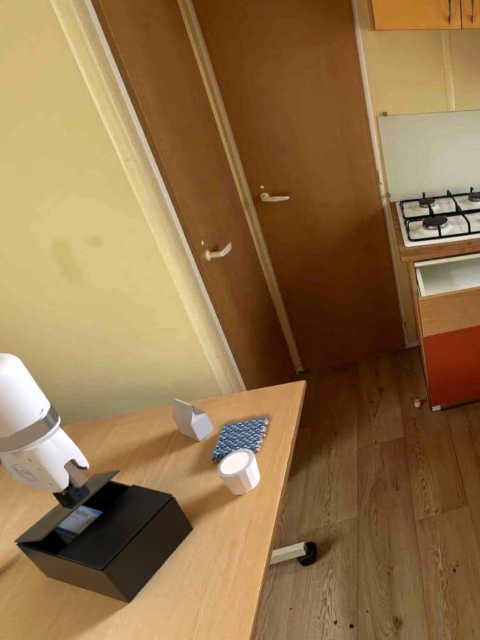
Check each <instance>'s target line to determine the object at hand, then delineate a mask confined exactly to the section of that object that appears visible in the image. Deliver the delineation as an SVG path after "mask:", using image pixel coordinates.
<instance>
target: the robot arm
mask: <svg viewBox="0 0 480 640" xmlns="http://www.w3.org/2000/svg"><path fill="white" fill-rule="evenodd" d="M60 424H61V416H59V414H58V413H57V411H56V410H55V408H54V407H53V405H52V404H51V402H50V401H49V400H48V398H47V397H46V394H45V393H44V392H43V390H42V389H41V388H40V386H39V385H38V384H37V382H36V381H35V379H34V377H33V376H32V374H31V372H29V370H28V369H27V367H26V365H25V364H24V363H23V361H22V359H20V358H19V357H17V356H16V355H14V354H12V353H7V352H2V353H1V352H0V461H1V463H2V465H3V466H4V467H5V468H6V470H7V472H8V473H9V475H10V476H11V477H12V478H13V480H14V481H15V482H17V483H19V484H21V485H25V486H27V487H31V488H34V489H38V490H40V491H44V492H48V493H52V495H53V497H54V498H55V499H56V501H57V502H58V504H59V503H60V504H61V505H62V507H64V508H68V509H73V508H74V507H75V506H76V505H78V504H79V503H80V502H81V501H82V500H83V499H84V498H86V497H87V496H88V495H89V494H90V490H89V489H88V488H87V486H86V485H85V484H86V483H87V482H88V481H89V480H88V479H89V478H88V477H87V476H85V474H84V473H83V472H82V471H89V469H90V464H89V461H88V459H87V458H86V457H85V455H84V453H82V451H81V449H80V448H79V447H78V446H77V445H76V443H75V442H74V441H73V439H71V438H70V437H69V435H68V433H66V432H65V431H64V430H63V428H61V427H60Z"/></svg>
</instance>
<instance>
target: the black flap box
mask: <svg viewBox="0 0 480 640" xmlns="http://www.w3.org/2000/svg"><path fill="white" fill-rule="evenodd" d="M82 506H85V507H88V508H91V509H94V510H97V511H101V512H102V513H101V514H100V515H99V516H98V517H97V518H96V519H95V520H94V521H93V522H92V523H90V524H89V525H88V526H87V527H86V528H85V529H84V530H83V531H82V532H81V533H80V534H79V535H78V536H76V537H75V538H74V539H73V540H72V541H71V542H70V543H69V544H68V545H66V543H65V542H64V541H63V540H62V538H61V537H60V536H59V535H58V533H57V532H56V531H55V530H52V531H51V532H50V533H49V534H48V535H47V536H46V537H44V538H43V539H42V540H41V541H33V542H19V543H15V545H16V546H17V547H18V548H19V550H21V552H22V553H23V554H24V555H25V556H26V557H27V558H28V559H29V560H30V561H31V562H32V563H33V564H34V565H35V566H36V567H37V568H38V569H39V571H40V572H42V573H43V574H44V576H45V577H47V578H49V579H53V580H56V581H58V582H62V583H65V584H68V585H71V586H74V587H77V588H81V589H83V590H87V591H90V592H92V593H96V594H98V595H102V596H105V597H108V598H111V599H113V600H118V601H120V602H123V603H127V604H131V602H133V600H134V599H135V598H136V597H137V595H138V594H139V593H140V592H141V591H142V590H143V588H145V586H146V585H147V584H148V583H149V582H150V581H151V579H152V578H153V577H154V576H155V575H156V574H157V572H158V571H160V569H161V568H162V566H163V565H165V563H166V562H167V561H168V560H169V558H170V557H171V556H172V555H173V554H174V552H176V550H177V549H179V547H180V545H181V544H182V543H183V542H184V541H185V540H186V538H188V537H189V535H190V534H191V533H192V532H193V531H194V527H193V525H192V524H191V522H190V520H189V518H188V517H187V516H186V514H185V512H184V511H183V508H182V507H181V506H180V503H179V502H178V501H177V499H176V497H175V496H174V495H173V494H172V493H168V492H165V491H160V490H157V489H153V488H150V487H145V486H141V485H136V484H131V485H130V484H126V483H122V482H120V481H119V482H118V481H115V480H112V479H111V480H110V481H109V482H107V483H106V484H105V485H104V486H103V487H102V488H101V489H99V490H98V491H97V492H96V493H95V494H94V495H93V496H91V497H90V498H89V499H88V500H87V501H86V502H85V503H83V504H82Z"/></svg>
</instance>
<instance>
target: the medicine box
mask: <svg viewBox="0 0 480 640" xmlns="http://www.w3.org/2000/svg"><path fill="white" fill-rule="evenodd" d="M101 513H102V512H101V511H97V510H94V509H91V508H88V507H85V506H82V505H81V506H80V507H79V508H78V509H77V510H75V511H74V512H73V513H72V514H71V515H70V516H69V517H67V518H66V519H65V520H64V521H63V522H62V523H60V524H59V525H58V526H57V527H56V528H55V529H54V530H55V531H56V532H57V533H58V535H59V536H60V537H61V538H62V540H63V541H64V542H65V543H66V545H68V544H69V543H70V542H71V541H72V540H73V539H74V538H75V537H76V536H78V535H79V534H80V533H81V532H82V531H83V530H84V529H85V528H86V527H87V526H88V525H89V524H90V523H92V522H93V521H94V520H95V519H96V518H97V517H98V516H99V515H100V514H101Z"/></svg>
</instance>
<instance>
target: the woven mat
mask: <svg viewBox="0 0 480 640" xmlns="http://www.w3.org/2000/svg"><path fill="white" fill-rule="evenodd" d="M268 425H269V420H268V419H267V417H265V416H264V417H260V418H257V419H256V418H253V419H250V420H248V419H247V420H245V421H244V420H243V421H239V422H232V423H229V424H227V423H225V424H224V427H221V431H220V434H218V439H217V442H216V445H215V446H214V450H213V452H212V453H211V458H210V462H213V463H214V462H221V460H222V459H224V458H225V457H226V456H227V455H228V454H230V453H232V452H233V451H236V450H239V449H249V450H252V452H253V453H254V455H255V454H257V453H259V452H260V451H261V447H262V446H261V444H262V443H263V438H265V437H266V434H265V433H266V431H267V426H268Z"/></svg>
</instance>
